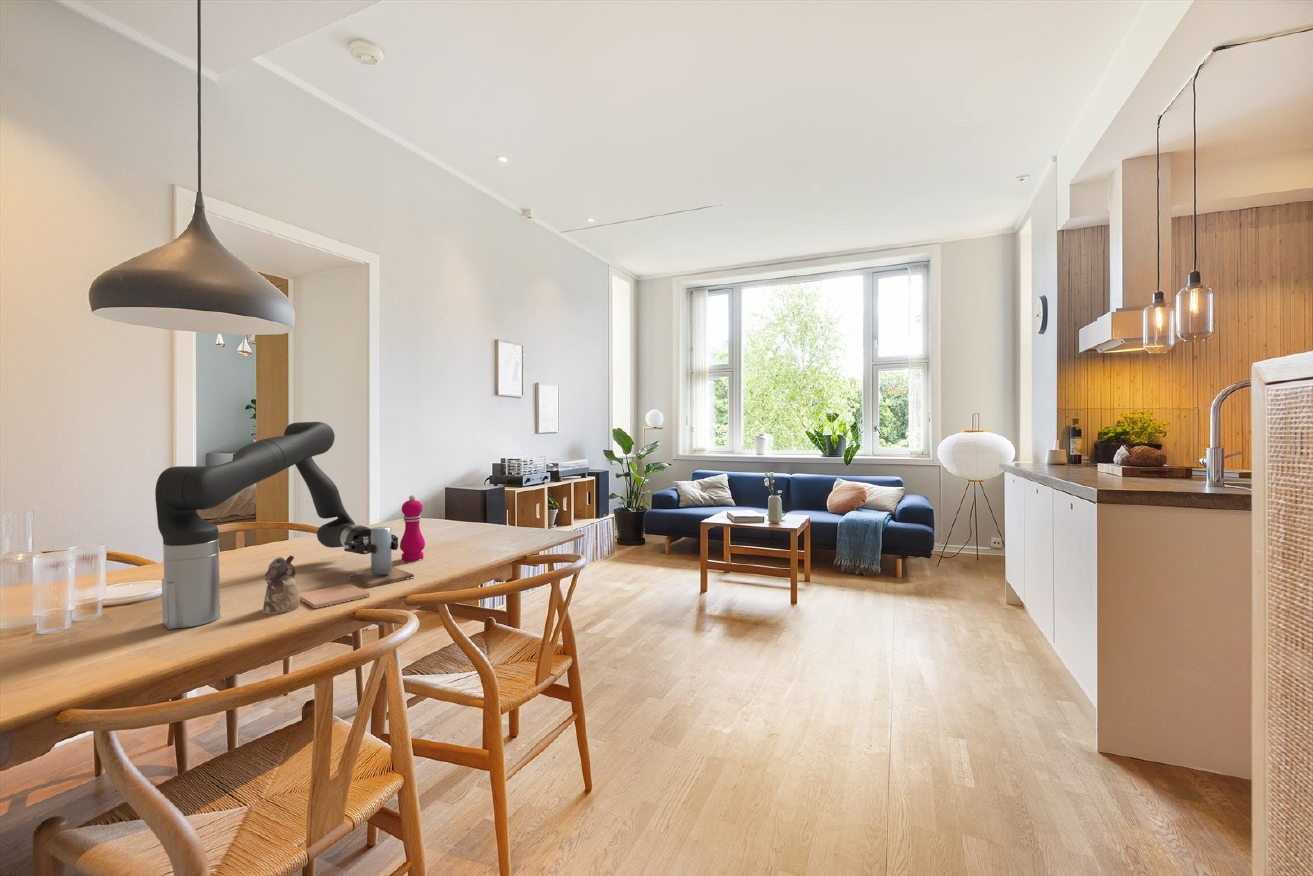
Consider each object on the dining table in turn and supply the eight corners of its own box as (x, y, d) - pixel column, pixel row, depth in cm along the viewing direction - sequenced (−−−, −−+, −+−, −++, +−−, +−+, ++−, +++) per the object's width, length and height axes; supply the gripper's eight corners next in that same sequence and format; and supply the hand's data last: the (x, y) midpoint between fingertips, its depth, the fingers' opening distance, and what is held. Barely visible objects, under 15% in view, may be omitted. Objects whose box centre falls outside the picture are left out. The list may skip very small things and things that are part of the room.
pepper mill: (404, 556, 180) (403, 493, 180) (428, 556, 181) (427, 493, 180) (396, 562, 173) (395, 496, 172) (421, 561, 174) (420, 496, 173)
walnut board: (368, 587, 147) (368, 584, 147) (349, 579, 154) (349, 575, 154) (413, 578, 156) (413, 574, 156) (393, 570, 164) (393, 567, 164)
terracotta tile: (315, 609, 130) (315, 604, 130) (297, 598, 138) (297, 594, 138) (369, 596, 139) (369, 592, 139) (349, 587, 147) (349, 583, 147)
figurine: (260, 608, 131) (259, 556, 130) (296, 602, 135) (296, 551, 135) (264, 616, 125) (263, 562, 125) (302, 609, 130) (301, 557, 129)
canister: (376, 575, 152) (375, 530, 151) (368, 572, 155) (367, 528, 154) (394, 571, 155) (394, 528, 155) (386, 568, 159) (386, 525, 158)
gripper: (332, 529, 159) (357, 538, 148) (384, 522, 169) (411, 530, 158) (332, 556, 159) (357, 566, 148) (384, 547, 170) (411, 557, 159)
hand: (385, 547), depth 153 cm, fingers closed on canister, 5 cm apart
